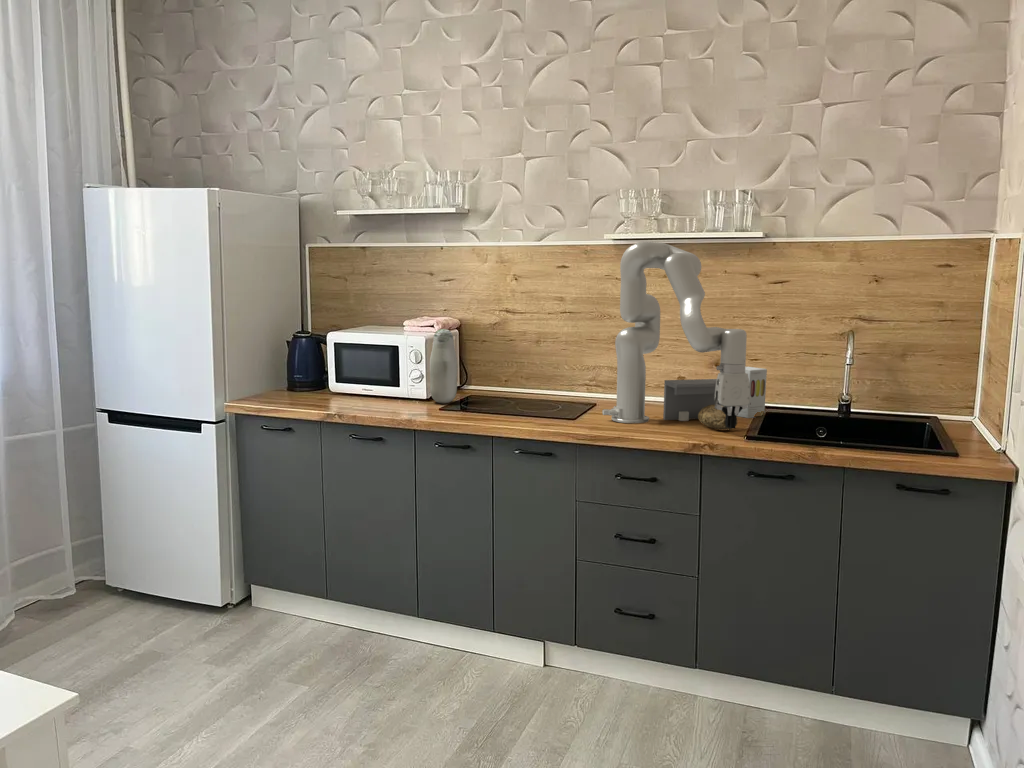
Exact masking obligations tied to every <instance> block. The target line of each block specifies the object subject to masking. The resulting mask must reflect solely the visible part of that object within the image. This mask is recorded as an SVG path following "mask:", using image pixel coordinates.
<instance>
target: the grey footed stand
mask: <svg viewBox="0 0 1024 768" xmlns="http://www.w3.org/2000/svg"><path fill="white" fill-rule="evenodd" d="M716 381H717V378H705V379H704V378H701V379H700V378H699V379H697V378H696V379H669V380H668V379H665V380H664V383H663V384H664V387H663V416H662V417H663V420H664V421H671V420H672V421H676V420H677V421H679V422H689V420H699V419H698V414H699V412H700V410H701V409H702V408H704V407H706V406H708V405H714V404H716V403H715V387H716Z"/></svg>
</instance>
